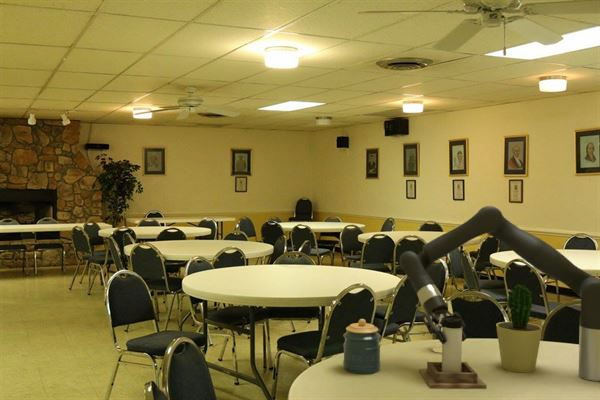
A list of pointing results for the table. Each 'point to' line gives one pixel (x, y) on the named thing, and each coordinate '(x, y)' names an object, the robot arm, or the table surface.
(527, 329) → the potted cactus
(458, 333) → the travel mug
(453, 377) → the square wooden tray
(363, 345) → the canister
